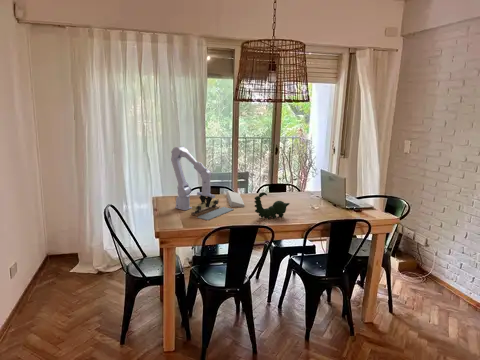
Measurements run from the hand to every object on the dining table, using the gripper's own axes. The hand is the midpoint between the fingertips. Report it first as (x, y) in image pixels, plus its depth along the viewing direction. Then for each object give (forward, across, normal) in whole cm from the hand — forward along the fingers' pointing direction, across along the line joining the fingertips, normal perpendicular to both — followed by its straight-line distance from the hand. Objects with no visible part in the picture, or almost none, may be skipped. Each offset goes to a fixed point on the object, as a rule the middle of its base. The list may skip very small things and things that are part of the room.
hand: (205, 206), depth 247 cm
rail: (0, 0, 0) cm, 0 cm away
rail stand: (+3, 0, 0) cm, 3 cm away
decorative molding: (+4, 0, -36) cm, 37 cm away
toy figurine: (+4, -43, -17) cm, 46 cm away
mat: (+3, -9, 0) cm, 10 cm away
